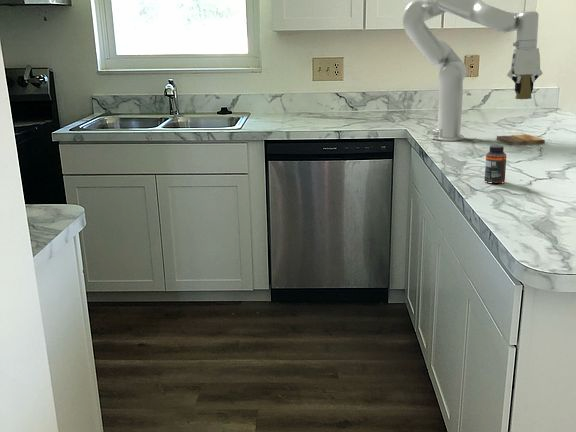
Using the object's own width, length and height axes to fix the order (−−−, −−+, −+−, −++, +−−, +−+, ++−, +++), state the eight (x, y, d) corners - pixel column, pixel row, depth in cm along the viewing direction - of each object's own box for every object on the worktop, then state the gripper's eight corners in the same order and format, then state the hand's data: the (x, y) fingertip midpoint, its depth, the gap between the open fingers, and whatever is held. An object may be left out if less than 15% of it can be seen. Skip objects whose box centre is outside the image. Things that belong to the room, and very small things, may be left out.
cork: (521, 99, 244) (522, 70, 241) (512, 98, 250) (513, 70, 247) (534, 98, 246) (536, 69, 242) (525, 97, 251) (527, 69, 248)
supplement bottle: (500, 179, 194) (503, 143, 191) (507, 184, 189) (510, 147, 185) (481, 180, 194) (483, 144, 191) (487, 185, 188) (490, 147, 185)
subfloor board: (510, 145, 247) (510, 141, 246) (496, 139, 259) (496, 135, 259) (544, 143, 248) (544, 139, 248) (528, 138, 260) (529, 134, 260)
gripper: (509, 46, 238) (507, 95, 243) (552, 44, 239) (548, 92, 244) (501, 46, 245) (499, 93, 250) (542, 43, 246) (539, 90, 251)
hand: (523, 92), depth 247 cm, fingers closed on cork, 4 cm apart
